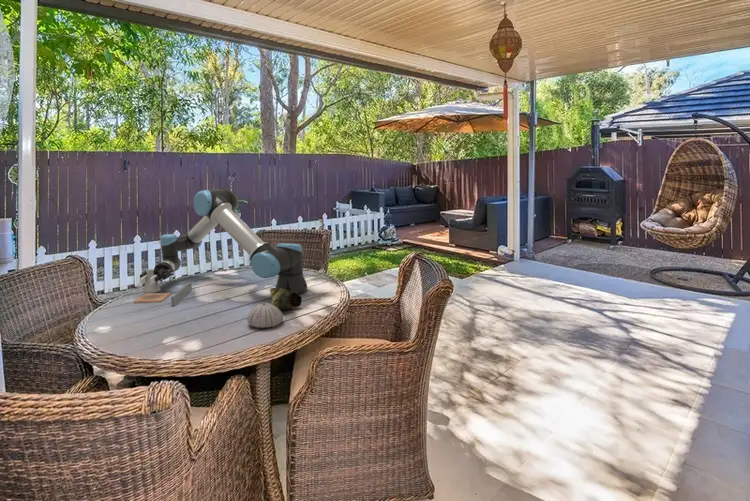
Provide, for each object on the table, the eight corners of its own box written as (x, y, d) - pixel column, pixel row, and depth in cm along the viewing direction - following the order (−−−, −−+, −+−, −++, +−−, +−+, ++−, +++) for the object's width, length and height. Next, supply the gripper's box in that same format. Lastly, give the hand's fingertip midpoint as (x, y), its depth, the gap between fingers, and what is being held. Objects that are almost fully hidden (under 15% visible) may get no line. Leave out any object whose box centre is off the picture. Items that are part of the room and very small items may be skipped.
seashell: (293, 315, 179) (292, 291, 177) (267, 314, 181) (266, 290, 179) (303, 307, 189) (302, 284, 187) (277, 306, 191) (276, 283, 189)
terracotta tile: (144, 295, 208) (144, 293, 208) (171, 294, 210) (170, 292, 209) (133, 303, 196) (133, 301, 196) (162, 301, 198) (161, 300, 198)
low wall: (189, 289, 217) (188, 281, 216) (191, 289, 217) (191, 281, 216) (171, 306, 192) (171, 297, 191) (174, 306, 192) (173, 297, 191)
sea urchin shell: (250, 319, 175) (249, 299, 174) (285, 317, 177) (284, 298, 175) (244, 331, 162) (243, 310, 161) (282, 329, 164) (281, 309, 162)
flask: (155, 288, 207) (153, 267, 206) (164, 290, 203) (162, 269, 202) (139, 292, 202) (137, 270, 200) (148, 294, 198) (146, 272, 196)
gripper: (182, 276, 220) (166, 289, 198) (147, 277, 219) (127, 290, 196) (181, 261, 219) (164, 272, 196) (145, 262, 217) (125, 273, 194)
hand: (146, 281), depth 196 cm, fingers closed on flask, 3 cm apart
